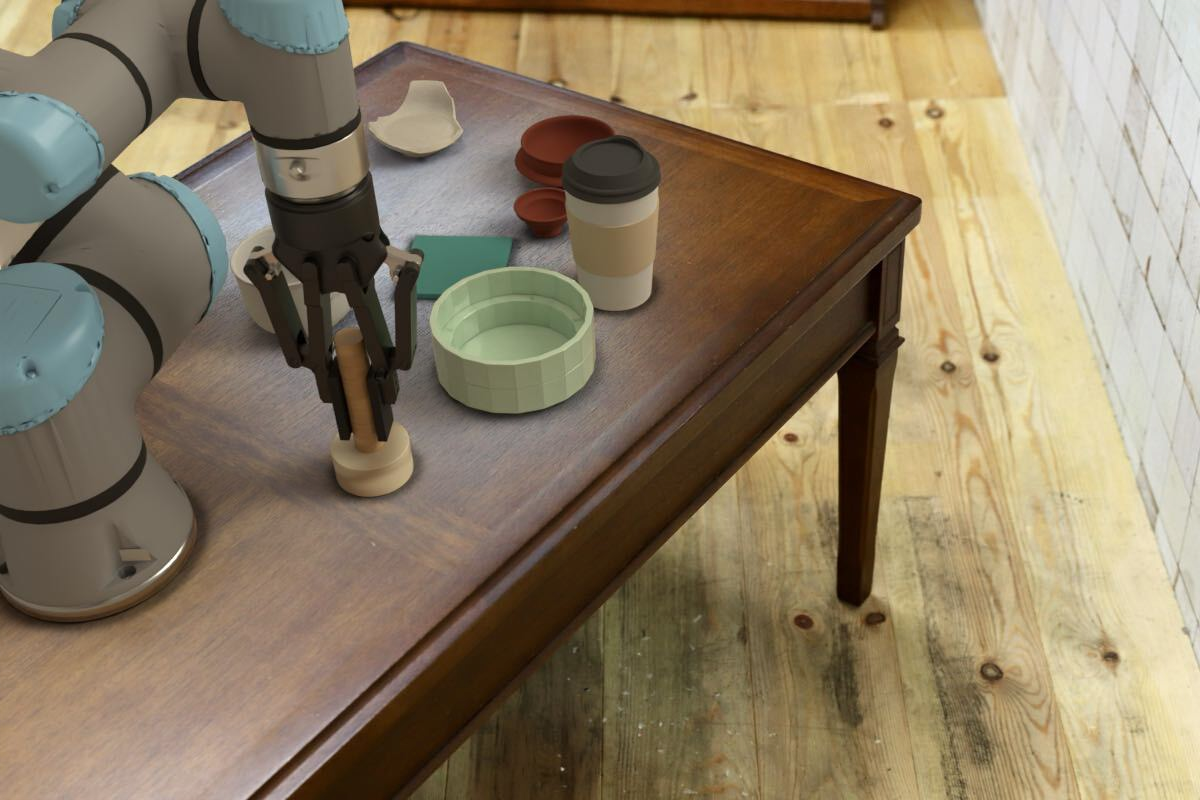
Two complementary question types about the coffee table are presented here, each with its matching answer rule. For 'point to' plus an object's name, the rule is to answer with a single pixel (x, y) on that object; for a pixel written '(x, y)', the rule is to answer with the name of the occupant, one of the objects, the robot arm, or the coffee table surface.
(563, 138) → the pottery
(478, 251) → the mat
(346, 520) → the coffee table surface
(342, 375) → the wooden peg
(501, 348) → the bowl
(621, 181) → the coffee cup
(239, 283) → the teacup
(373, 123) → the pottery shard
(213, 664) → the coffee table surface
